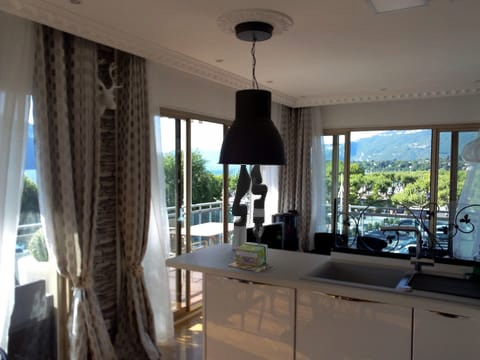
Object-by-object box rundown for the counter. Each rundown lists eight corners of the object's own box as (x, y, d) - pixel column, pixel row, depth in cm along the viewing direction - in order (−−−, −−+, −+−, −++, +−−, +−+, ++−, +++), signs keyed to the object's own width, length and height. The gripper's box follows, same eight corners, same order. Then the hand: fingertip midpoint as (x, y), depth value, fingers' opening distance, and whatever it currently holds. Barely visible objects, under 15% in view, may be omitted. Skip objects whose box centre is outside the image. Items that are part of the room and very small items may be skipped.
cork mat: (227, 266, 241) (227, 263, 241) (241, 261, 255) (241, 258, 255) (253, 270, 232) (254, 267, 232) (266, 265, 245) (266, 262, 245)
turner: (259, 272, 228) (259, 270, 228) (253, 271, 230) (253, 269, 230) (272, 266, 242) (272, 264, 242) (267, 265, 244) (267, 263, 244)
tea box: (267, 244, 248) (257, 251, 235) (268, 259, 249) (258, 267, 236) (246, 241, 255) (235, 248, 242) (246, 256, 256) (235, 264, 243)
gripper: (258, 214, 261) (258, 240, 261) (248, 216, 250) (247, 243, 250) (268, 215, 257) (268, 241, 258) (259, 217, 246) (258, 245, 246)
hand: (258, 242), depth 254 cm, fingers closed
